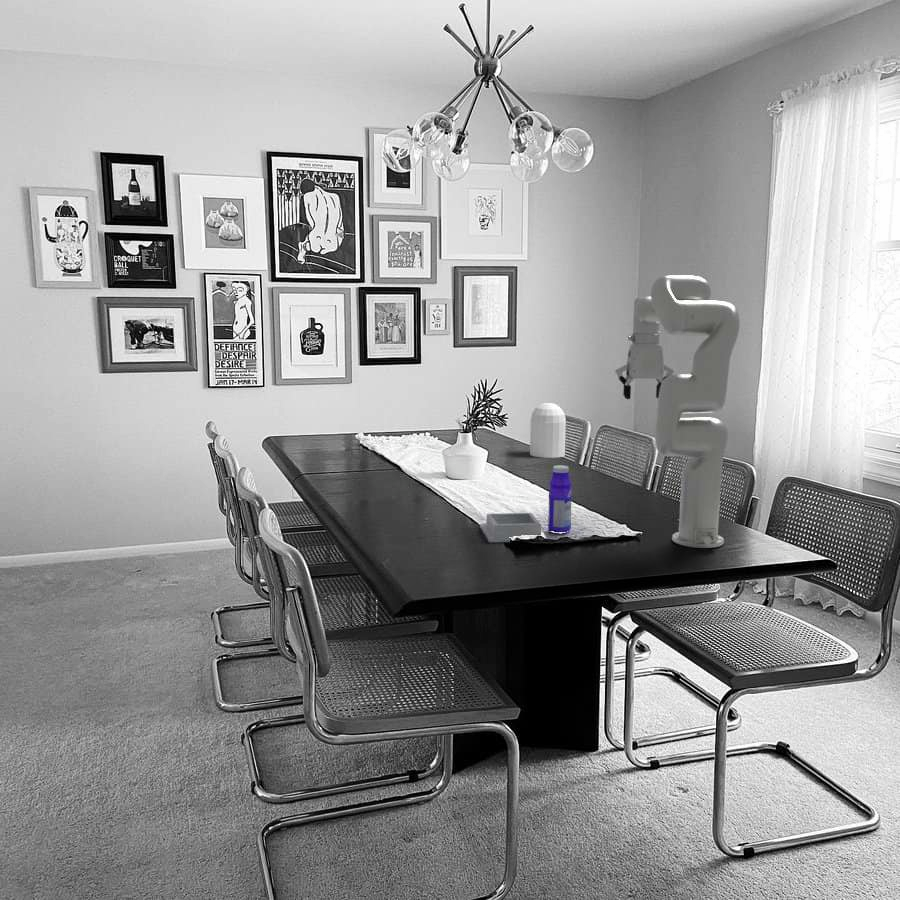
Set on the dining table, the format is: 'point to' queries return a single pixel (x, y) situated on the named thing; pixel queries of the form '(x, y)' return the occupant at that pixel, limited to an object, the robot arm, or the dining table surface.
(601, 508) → the dining table surface
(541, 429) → the container
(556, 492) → the bottle
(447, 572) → the dining table surface
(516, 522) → the shallow grey tray
